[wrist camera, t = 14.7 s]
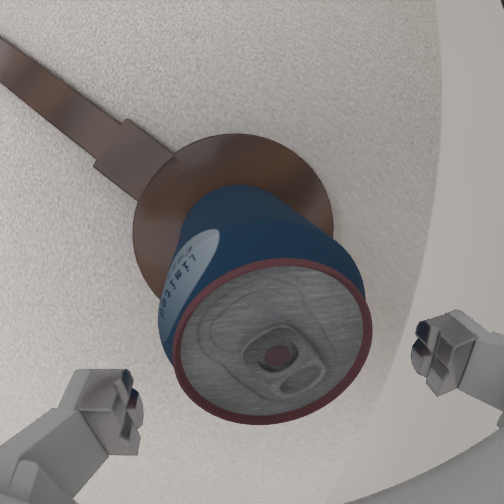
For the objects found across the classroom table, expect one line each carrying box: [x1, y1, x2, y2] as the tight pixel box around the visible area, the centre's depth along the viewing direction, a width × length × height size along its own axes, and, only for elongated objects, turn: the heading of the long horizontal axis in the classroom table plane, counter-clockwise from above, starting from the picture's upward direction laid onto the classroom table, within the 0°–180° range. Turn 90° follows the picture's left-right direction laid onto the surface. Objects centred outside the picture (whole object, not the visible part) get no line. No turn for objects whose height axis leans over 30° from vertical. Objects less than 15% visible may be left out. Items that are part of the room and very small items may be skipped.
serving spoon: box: [0, 36, 334, 300], centre depth 17 cm, size 33×13×1 cm, turn 50°
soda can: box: [158, 185, 372, 425], centre depth 14 cm, size 7×7×12 cm
